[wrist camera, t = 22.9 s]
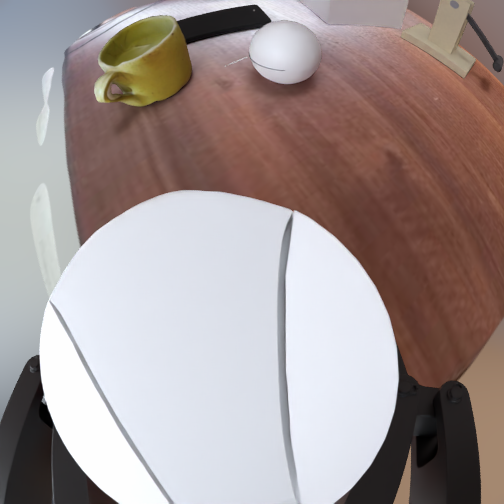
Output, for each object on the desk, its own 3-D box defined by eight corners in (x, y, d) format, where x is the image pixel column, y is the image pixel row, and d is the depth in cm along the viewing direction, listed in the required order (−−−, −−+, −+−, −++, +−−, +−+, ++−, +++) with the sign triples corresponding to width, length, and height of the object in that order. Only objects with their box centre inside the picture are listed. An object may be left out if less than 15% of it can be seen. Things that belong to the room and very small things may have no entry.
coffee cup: (329, 380, 17) (451, 478, 3) (217, 415, 17) (102, 542, 3) (290, 270, 20) (318, 114, 5) (182, 306, 20) (13, 240, 5)
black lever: (496, 65, 21) (506, 62, 19) (494, 73, 21) (505, 70, 18) (450, -2, 18) (459, -7, 16) (442, -1, 17) (452, -6, 15)
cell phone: (151, 33, 32) (150, 29, 31) (257, 8, 32) (256, 4, 31) (150, 55, 30) (148, 51, 29) (272, 26, 29) (272, 21, 29)
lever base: (473, 64, 27) (496, 16, 14) (463, 78, 25) (492, 20, 13) (418, 28, 30) (433, -22, 18) (400, 37, 28) (416, -24, 16)
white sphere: (305, 57, 27) (307, 8, 20) (329, 93, 24) (338, 37, 17) (223, 70, 27) (212, 19, 20) (234, 108, 25) (223, 49, 18)
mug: (151, 45, 28) (134, -1, 18) (211, 69, 29) (207, 18, 19) (94, 112, 28) (57, 78, 18) (151, 144, 29) (122, 108, 19)
